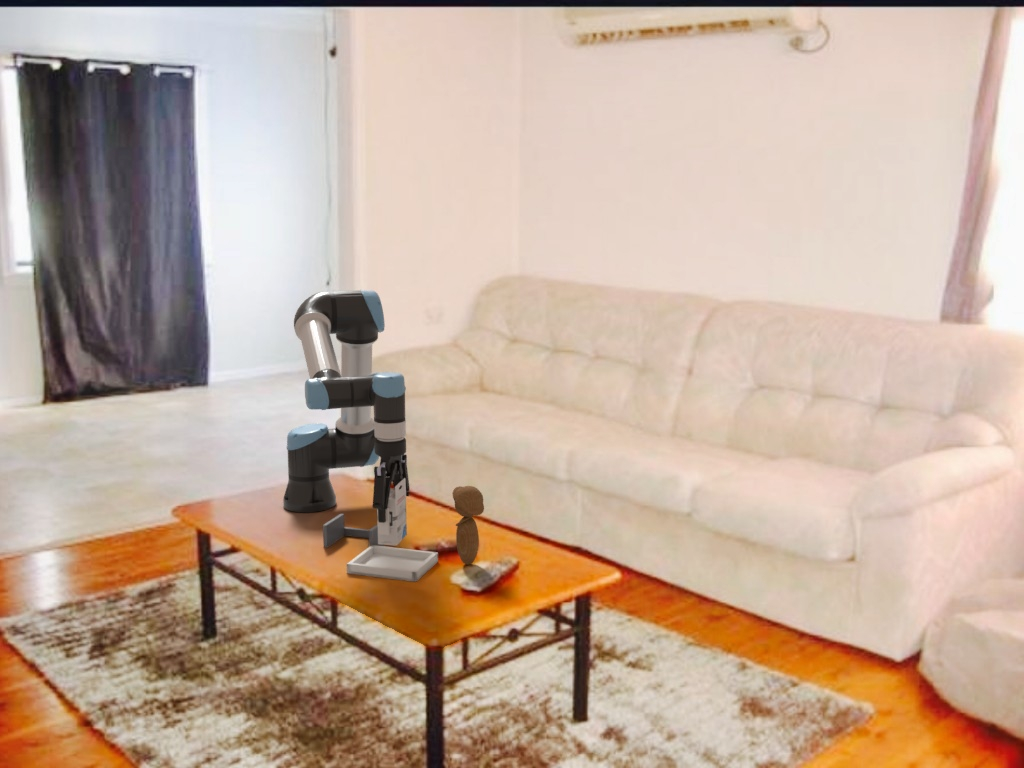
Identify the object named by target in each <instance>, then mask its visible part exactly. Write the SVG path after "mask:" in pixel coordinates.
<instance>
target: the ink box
mask: <svg viewBox="0 0 1024 768" xmlns="http://www.w3.org/2000/svg"><path fill="white" fill-rule="evenodd" d="M400 486H402V488H401V489H399V487H400ZM387 508H389V519H390V535H380V534H378V544H380V545H383V546H395V547H396V546H398V545H399V544H400V543H401V542H402V540H403V539H404V538H405V537H406V536H407V534H408V531H407V528H408V527H407V496H406V479H405V478H404V479H403V480H402V481H400V482H399V483H398V484H397V485H396V486H395V489H394V488H390V494H389V500H388V506H387ZM376 513H377V515H376V517H377V519H376V520H377V521H376V523H377V524H378V509H376ZM377 524H376V525H377Z"/></svg>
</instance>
